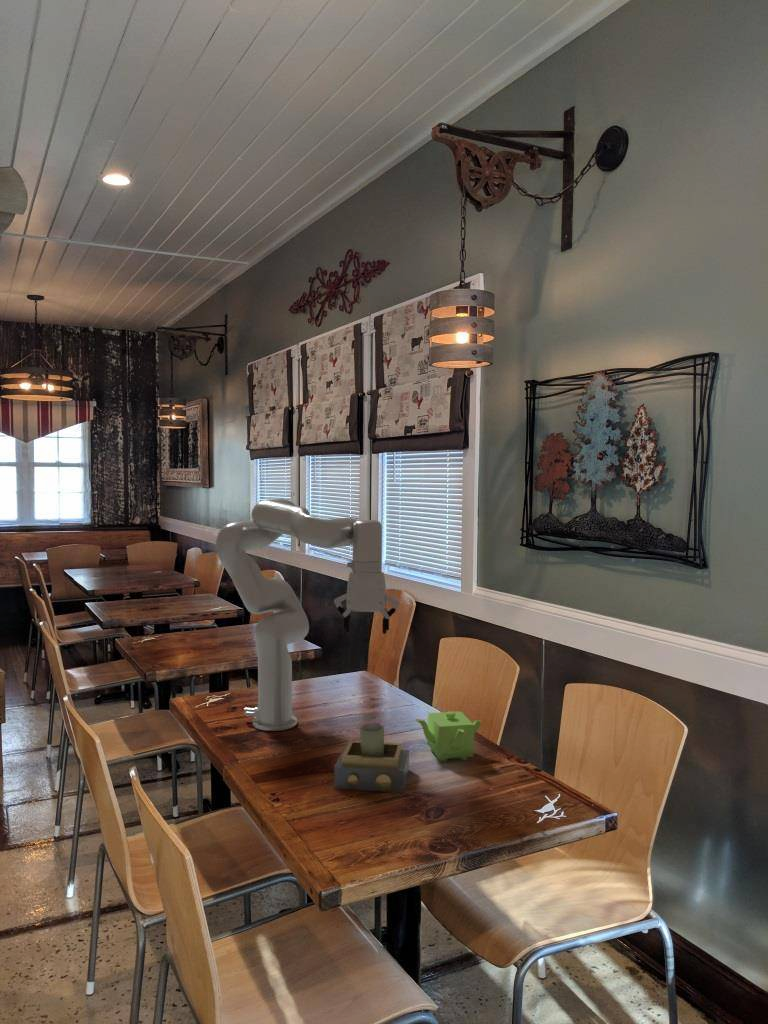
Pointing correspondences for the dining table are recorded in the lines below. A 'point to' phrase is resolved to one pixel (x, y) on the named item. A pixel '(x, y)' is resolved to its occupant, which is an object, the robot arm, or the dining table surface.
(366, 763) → the toy stove
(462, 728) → the kettle
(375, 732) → the pale green cup
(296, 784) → the dining table surface
